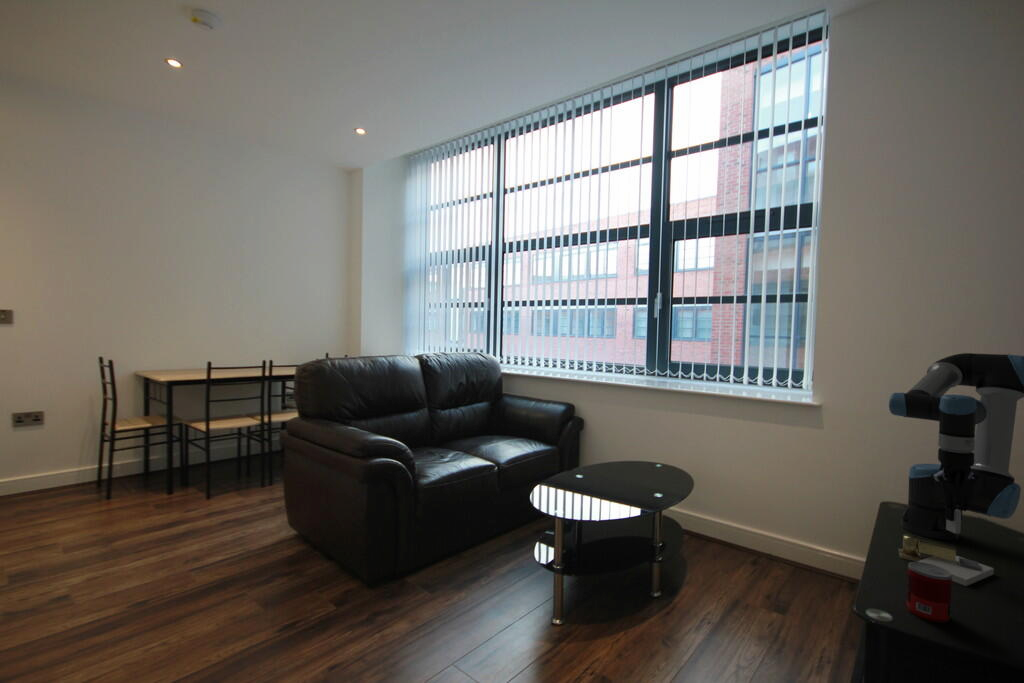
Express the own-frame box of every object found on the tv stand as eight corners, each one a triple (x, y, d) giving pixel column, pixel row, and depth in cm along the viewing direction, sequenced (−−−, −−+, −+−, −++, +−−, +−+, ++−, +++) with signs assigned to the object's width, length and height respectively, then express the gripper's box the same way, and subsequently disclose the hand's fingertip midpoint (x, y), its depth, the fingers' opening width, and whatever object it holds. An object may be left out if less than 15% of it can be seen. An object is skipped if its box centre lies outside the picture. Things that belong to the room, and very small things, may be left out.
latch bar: (902, 553, 145) (903, 537, 144) (902, 549, 147) (902, 533, 147) (955, 565, 137) (956, 548, 137) (953, 561, 140) (954, 544, 140)
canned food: (958, 625, 110) (960, 579, 110) (918, 620, 112) (920, 574, 112) (936, 607, 118) (938, 563, 118) (899, 602, 119) (901, 559, 119)
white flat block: (944, 557, 145) (945, 549, 145) (993, 574, 135) (993, 565, 135) (917, 567, 138) (917, 558, 138) (966, 586, 128) (966, 576, 128)
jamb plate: (898, 551, 148) (898, 548, 148) (919, 556, 146) (919, 553, 146) (900, 557, 144) (900, 554, 144) (921, 562, 141) (922, 559, 141)
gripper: (948, 453, 130) (945, 538, 131) (991, 452, 132) (987, 536, 133) (922, 446, 138) (919, 526, 139) (962, 445, 139) (960, 524, 140)
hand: (953, 531), depth 136 cm, fingers closed
